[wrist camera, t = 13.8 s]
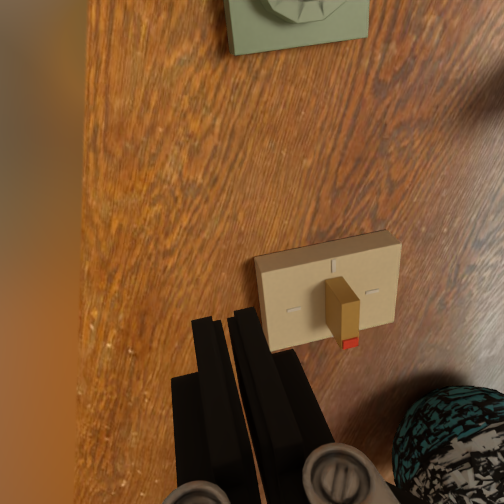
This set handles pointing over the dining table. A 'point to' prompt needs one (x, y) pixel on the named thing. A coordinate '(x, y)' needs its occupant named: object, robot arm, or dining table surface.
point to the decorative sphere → (452, 447)
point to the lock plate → (313, 286)
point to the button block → (292, 23)
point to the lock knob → (342, 312)
